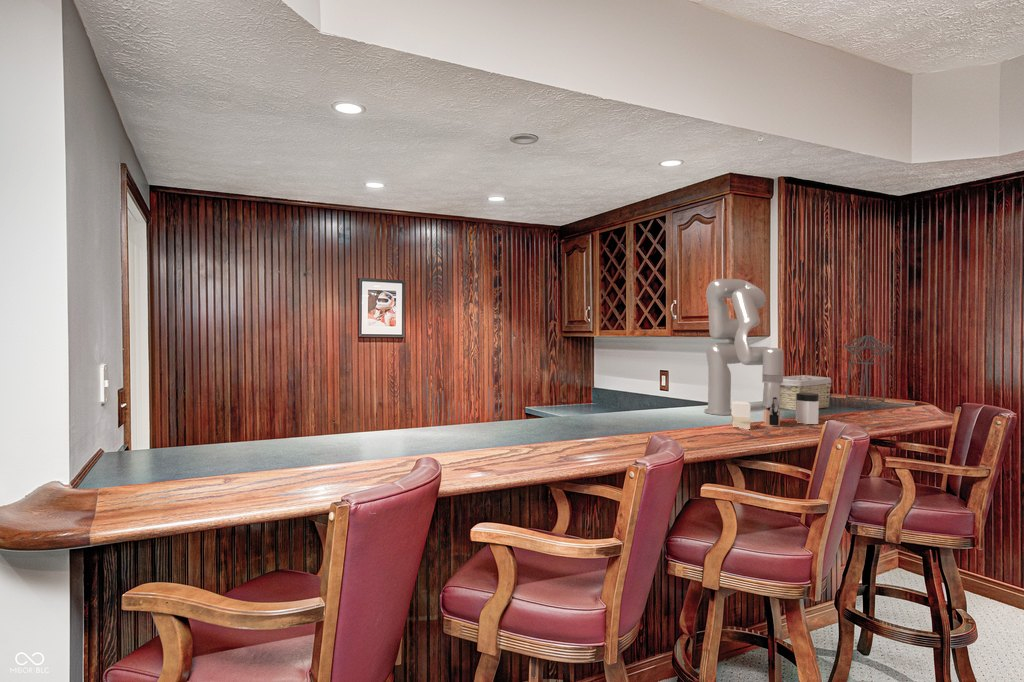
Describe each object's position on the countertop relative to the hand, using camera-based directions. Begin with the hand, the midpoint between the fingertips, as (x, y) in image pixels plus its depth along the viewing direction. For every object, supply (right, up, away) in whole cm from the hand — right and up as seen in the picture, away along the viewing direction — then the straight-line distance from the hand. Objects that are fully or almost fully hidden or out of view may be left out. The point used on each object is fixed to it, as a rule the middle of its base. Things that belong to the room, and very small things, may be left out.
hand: (771, 422), depth 230 cm
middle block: (-15, +4, -7) cm, 17 cm away
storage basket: (+35, 0, +47) cm, 58 cm away
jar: (+17, -1, +5) cm, 18 cm away
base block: (-15, -1, -7) cm, 17 cm away
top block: (0, -1, 0) cm, 1 cm away
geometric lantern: (+65, 0, +45) cm, 79 cm away
